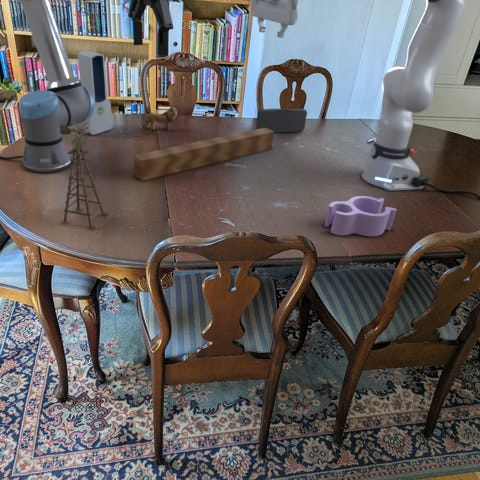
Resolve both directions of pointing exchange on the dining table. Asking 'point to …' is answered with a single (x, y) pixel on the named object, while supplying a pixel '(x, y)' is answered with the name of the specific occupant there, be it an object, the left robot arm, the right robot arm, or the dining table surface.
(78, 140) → the miniature windmill
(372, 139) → the sword
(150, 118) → the lion figurine
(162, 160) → the bar
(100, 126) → the electronic device
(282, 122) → the handheld gaming console
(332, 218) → the clip
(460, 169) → the dining table surface
